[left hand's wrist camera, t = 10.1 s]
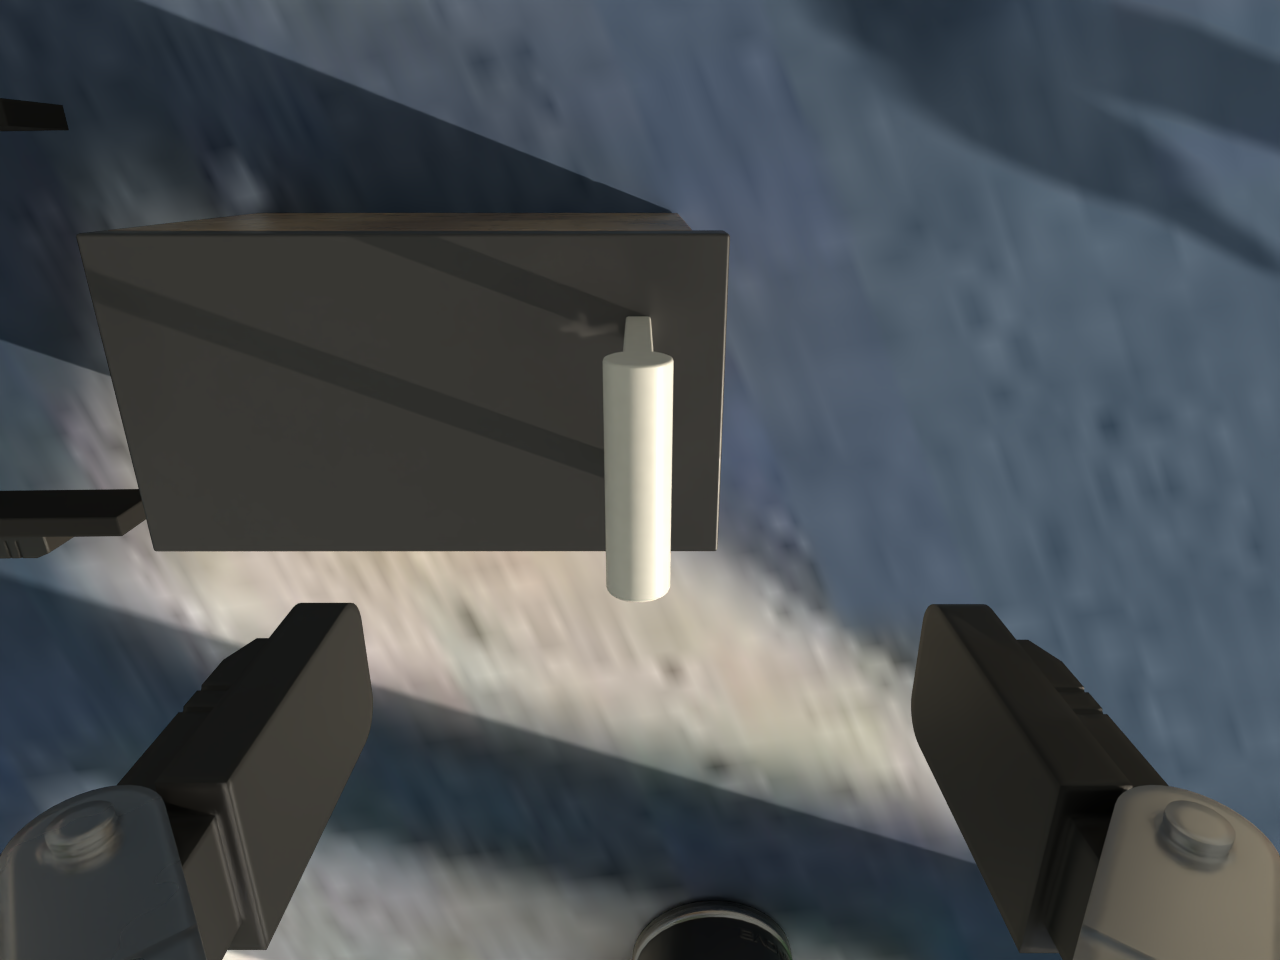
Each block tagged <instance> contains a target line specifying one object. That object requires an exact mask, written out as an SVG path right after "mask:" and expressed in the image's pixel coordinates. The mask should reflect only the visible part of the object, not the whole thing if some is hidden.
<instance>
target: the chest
mask: <svg viewBox="0 0 1280 960" xmlns="http://www.w3.org/2000/svg"><path fill="white" fill-rule="evenodd" d="M108 231H693V230H692V229H691V228H690V227H689V226H688V225H687V224H686V223H685V221H684V220H683V219H682V218H681V217H680V216H679V215H678V213H255V214H246V215H237V216H228V217H220V218H211V219H202V220H193V221H184V222H175V223H166V224H157V225H149V226H140V227H131V228H122V229H113V230H108Z"/></svg>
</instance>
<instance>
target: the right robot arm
mask: <svg viewBox="0 0 1280 960" xmlns="http://www.w3.org/2000/svg"><path fill="white" fill-rule="evenodd" d="M44 130H69V129H68V125H67V121H66V117H65V113H64V109H63V105H56V104H47V103H38V102H29V101H21V100H12V99H3V98H0V131H44ZM145 519H146V515H145V511H144V507H143V503H142V499H141V495H140V491H139V489H117V490H36V491H0V558H38V557H41V556H43V555H45V554H48V553H50V552H51V551H53V550H54V549H56V548H57V547H59V546H61V545H62V544H64V543H65V542H67V541H68V540H70V539H71V538H73V537H80V536H123V535H124V534H126V533H127V532H128V531H130V530H131V529H133V528H134V527H136V526H137V525H138V524H140V523H141V522H143V521H144V520H145Z"/></svg>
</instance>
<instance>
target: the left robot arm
mask: <svg viewBox="0 0 1280 960" xmlns="http://www.w3.org/2000/svg"><path fill="white" fill-rule="evenodd" d="M372 713H373V696H372V688H371V681H370V675H369V668H368V661H367V654H366V647H365V641H364V634H363V627H362V620H361V615H360V612H359V610H358V608H357V606H356V605H355V604H354V603H298V604H297V605H295V606H294V607H293V608H292V610H291V611H290V612H289V614H288V615H287V616H286V617H285V619H284V620H283V621H282V622H281V624H280V625H279V626H278V627H277V629H276V630H275V631H274V632H273V634H272V635H271V636H270V637H269V638H257V639H255V640H253V641H252V642H250V643H249V644H247V645H246V646H244V647H243V648H241V649H240V650H238V651H236V652H235V653H233V654H232V655H230V656H229V657H227V658H226V659H224V660H223V661H222V662H221V663H220V664H219V666H218V667H217V668H216V669H215V670H214V671H213V673H212V674H211V675H210V676H209V677H208V679H207V680H206V681H205V682H204V683H203V684H202V689H201V691H196V693H195V694H194V695H193V696H192V697H191V699H190V700H189V701H188V702H187V703H186V704H185V706H184V710H183V712H179V713H178V714H177V715H176V716H175V717H174V718H173V720H172V721H171V722H170V723H169V724H168V726H167V727H166V728H165V729H164V730H163V731H162V733H161V734H160V735H159V736H158V737H157V738H156V740H155V741H154V742H153V743H152V744H151V746H150V747H149V748H148V749H147V750H146V751H145V753H144V754H143V755H142V756H141V757H140V758H139V760H138V761H137V762H136V763H135V764H134V765H133V767H132V768H131V769H130V770H129V771H128V773H127V774H126V775H125V776H124V777H123V778H122V780H121V781H120V782H119V783H118V784H117V785H116V786H110V787H104V788H100V789H96V790H92V791H89V792H86V793H83V794H80V795H77V796H75V797H72V798H70V799H68V800H65V801H63V802H61V803H59V804H57V805H55V806H53V807H52V808H50V809H48V810H47V811H45V812H43V813H42V814H40V815H39V816H37V817H36V818H35V819H33V820H32V821H31V822H29V823H28V824H27V825H26V826H24V827H23V828H22V829H21V830H20V831H19V832H18V833H17V834H16V835H15V836H14V837H13V838H12V839H11V840H10V842H9V843H8V844H7V846H6V847H5V849H4V850H3V852H2V854H1V855H0V960H222V959H223V957H224V955H225V953H226V951H227V950H267V947H268V945H269V943H270V941H271V939H272V937H273V935H274V933H275V931H276V929H277V927H278V925H279V922H280V920H281V918H282V916H283V914H284V912H285V910H286V908H287V906H288V904H289V902H290V899H291V897H292V895H293V893H294V891H295V889H296V887H297V885H298V883H299V881H300V879H301V877H302V874H303V872H304V870H305V868H306V866H307V864H308V862H309V860H310V858H311V856H312V854H313V851H314V849H315V847H316V845H317V843H318V841H319V839H320V837H321V835H322V833H323V831H324V829H325V826H326V824H327V822H328V820H329V818H330V816H331V814H332V812H333V810H334V808H335V806H336V804H337V801H338V799H339V797H340V795H341V793H342V791H343V789H344V787H345V785H346V783H347V781H348V778H349V776H350V774H351V772H352V770H353V768H354V766H355V764H356V762H357V760H358V758H359V756H360V753H361V751H362V749H363V747H364V745H365V743H366V741H367V738H368V735H369V731H370V727H371V722H372ZM911 714H912V723H913V728H914V732H915V736H916V739H917V742H918V744H919V746H920V748H921V750H922V753H923V755H924V757H925V759H926V761H927V763H928V765H929V767H930V769H931V771H932V773H933V775H934V777H935V779H936V781H937V783H938V786H939V788H940V790H941V792H942V794H943V796H944V798H945V800H946V802H947V804H948V806H949V808H950V810H951V812H952V814H953V816H954V818H955V821H956V823H957V825H958V827H959V829H960V831H961V833H962V835H963V837H964V839H965V841H966V843H967V845H968V847H969V849H970V851H971V854H972V856H973V858H974V860H975V862H976V864H977V866H978V868H979V870H980V872H981V874H982V876H983V878H984V880H985V882H986V884H987V887H988V889H989V891H990V893H991V895H992V897H993V899H994V901H995V903H996V905H997V907H998V909H999V911H1000V913H1001V915H1002V917H1003V919H1004V922H1005V924H1006V926H1007V928H1008V930H1009V932H1010V934H1011V936H1012V938H1013V940H1014V942H1015V944H1016V946H1017V948H1018V950H1019V952H1020V953H1059V954H1060V955H1061V957H1062V959H1063V960H1280V856H1279V854H1278V852H1277V850H1276V849H1275V847H1274V846H1273V844H1272V843H1271V842H1270V840H1269V839H1268V838H1267V837H1266V836H1265V835H1264V834H1263V833H1262V832H1261V831H1260V830H1259V829H1258V828H1257V827H1256V826H1254V825H1253V824H1252V823H1251V822H1249V821H1248V820H1247V819H1245V818H1244V817H1243V816H1241V815H1240V814H1238V813H1237V812H1235V811H1233V810H1232V809H1230V808H1228V807H1227V806H1225V805H1223V804H1221V803H1219V802H1217V801H1215V800H1212V799H1210V798H1208V797H1205V796H1203V795H1200V794H1197V793H1194V792H1191V791H1188V790H1184V789H1180V788H1176V787H1170V786H1168V785H1167V783H1166V782H1165V781H1164V780H1163V779H1162V778H1161V776H1160V775H1159V774H1158V773H1157V772H1156V771H1155V769H1154V768H1153V767H1152V766H1151V765H1150V764H1149V762H1148V761H1147V760H1146V759H1145V758H1144V757H1143V755H1142V754H1141V753H1140V752H1139V751H1138V750H1137V749H1136V747H1135V746H1134V745H1133V744H1132V743H1131V742H1130V740H1129V739H1128V738H1127V737H1126V736H1125V735H1124V733H1123V732H1122V731H1121V730H1120V729H1119V728H1118V726H1117V725H1116V724H1115V723H1114V722H1113V721H1112V719H1111V718H1110V717H1109V716H1108V715H1107V714H1103V712H1102V708H1101V707H1100V705H1099V704H1098V703H1097V702H1096V701H1095V700H1094V698H1093V697H1092V696H1091V695H1090V694H1089V693H1088V692H1084V687H1083V686H1082V684H1081V683H1080V682H1079V681H1078V680H1077V679H1076V677H1075V676H1074V675H1073V674H1072V673H1071V672H1070V670H1069V669H1068V668H1067V667H1066V666H1065V665H1064V663H1063V662H1062V661H1060V660H1059V659H1057V658H1055V657H1054V656H1052V655H1051V654H1049V653H1048V652H1046V651H1045V650H1043V649H1042V648H1040V647H1038V646H1037V645H1035V644H1034V643H1032V642H1031V641H1029V640H1016V639H1015V638H1014V636H1013V635H1012V634H1011V633H1010V631H1009V630H1008V629H1007V628H1006V626H1005V625H1004V624H1003V623H1002V621H1001V620H1000V619H999V618H998V616H997V615H996V614H995V613H994V611H993V610H992V609H991V608H990V607H989V606H987V605H984V604H932V605H930V606H929V607H928V608H927V610H926V612H925V614H924V618H923V624H922V630H921V637H920V644H919V650H918V657H917V664H916V670H915V677H914V684H913V690H912V698H911ZM633 960H792V955H791V949H790V945H789V942H788V939H787V937H786V935H785V933H784V932H783V930H782V929H781V928H780V926H779V925H778V924H777V923H776V922H775V921H774V920H772V919H771V918H770V917H769V916H767V915H765V914H764V913H762V912H760V911H758V910H756V909H754V908H752V907H749V906H746V905H743V904H739V903H734V902H728V901H701V902H695V903H690V904H686V905H682V906H679V907H677V908H674V909H672V910H669V911H667V912H665V913H664V914H662V915H660V916H659V917H657V918H656V919H655V920H653V921H652V922H651V923H650V924H649V925H648V926H647V927H646V928H645V929H644V930H643V932H642V933H641V934H640V936H639V938H638V939H637V942H636V944H635V947H634V951H633Z"/></svg>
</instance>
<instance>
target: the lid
mask: <svg viewBox="0 0 1280 960" xmlns="http://www.w3.org/2000/svg"><path fill="white" fill-rule="evenodd" d="M76 238H77V242H78V246H79V250H80V254H81V258H82V262H83V266H84V270H85V274H86V278H87V282H88V286H89V290H90V294H91V298H92V302H93V306H94V310H95V314H96V318H97V322H98V326H99V330H100V334H101V338H102V342H103V346H104V350H105V354H106V358H107V362H108V367H109V371H110V375H111V379H112V383H113V387H114V391H115V395H116V399H117V403H118V407H119V411H120V415H121V419H122V423H123V427H124V431H125V435H126V439H127V443H128V447H129V451H130V455H131V459H132V463H133V467H134V471H135V475H136V479H137V483H138V487H139V491H140V495H141V499H142V503H143V507H144V511H145V515H146V520H147V524H148V528H149V532H150V536H151V540H152V544H153V548H154V550H155V551H606V585H607V589H608V591H609V593H610V594H611V595H613V596H614V597H616V598H618V599H621V600H624V601H629V602H648V601H652V600H656V599H658V598H661V597H662V596H664V595H665V594H666V593H667V592H668V590H669V588H670V552H671V551H716V550H717V548H718V524H719V498H720V473H721V448H722V423H723V398H724V373H725V347H726V322H727V297H728V272H729V247H730V236H729V234H728V233H726V232H725V231H96V232H87V233H79V234H77V236H76Z"/></svg>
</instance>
